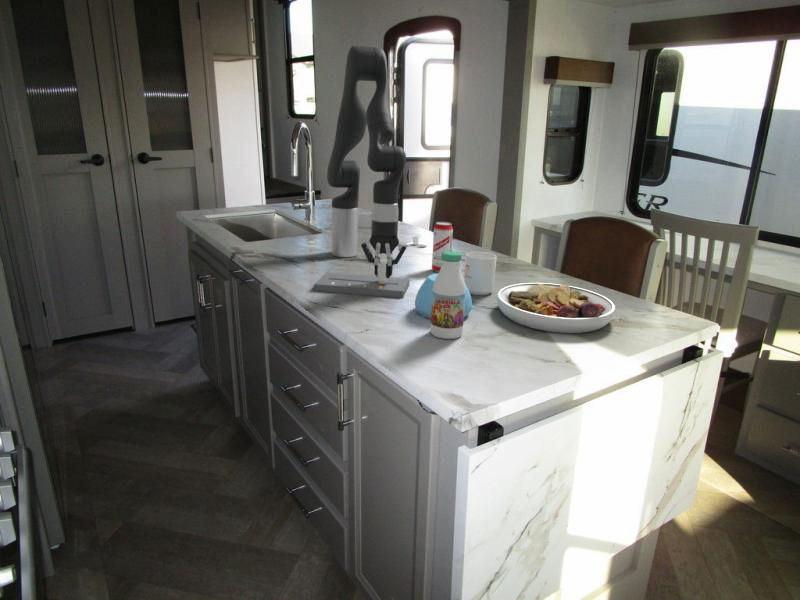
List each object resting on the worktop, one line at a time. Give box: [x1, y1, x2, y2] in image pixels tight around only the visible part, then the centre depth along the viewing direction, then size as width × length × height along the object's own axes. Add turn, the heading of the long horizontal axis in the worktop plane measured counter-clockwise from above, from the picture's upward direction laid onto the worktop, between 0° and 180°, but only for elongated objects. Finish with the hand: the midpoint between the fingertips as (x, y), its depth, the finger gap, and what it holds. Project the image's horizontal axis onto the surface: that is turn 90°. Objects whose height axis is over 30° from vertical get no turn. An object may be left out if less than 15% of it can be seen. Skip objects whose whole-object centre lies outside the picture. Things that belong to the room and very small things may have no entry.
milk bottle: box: [429, 250, 465, 340], centre depth 134 cm, size 8×8×20 cm
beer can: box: [431, 221, 454, 273], centre depth 189 cm, size 6×6×16 cm
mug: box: [463, 251, 498, 296], centre depth 170 cm, size 12×9×11 cm
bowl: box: [497, 282, 616, 334], centre depth 151 cm, size 30×30×8 cm
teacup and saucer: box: [406, 234, 428, 248], centre depth 225 cm, size 9×8×4 cm
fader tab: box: [377, 258, 388, 284], centre depth 167 cm, size 6×2×6 cm, turn 171°
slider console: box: [313, 271, 411, 299], centre depth 169 cm, size 13×26×2 cm, turn 81°
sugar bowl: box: [414, 273, 473, 320], centre depth 149 cm, size 15×15×12 cm
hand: (383, 276), depth 167 cm, fingers closed on fader tab, 2 cm apart
